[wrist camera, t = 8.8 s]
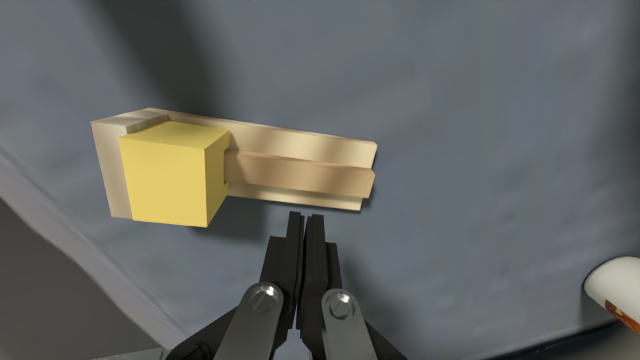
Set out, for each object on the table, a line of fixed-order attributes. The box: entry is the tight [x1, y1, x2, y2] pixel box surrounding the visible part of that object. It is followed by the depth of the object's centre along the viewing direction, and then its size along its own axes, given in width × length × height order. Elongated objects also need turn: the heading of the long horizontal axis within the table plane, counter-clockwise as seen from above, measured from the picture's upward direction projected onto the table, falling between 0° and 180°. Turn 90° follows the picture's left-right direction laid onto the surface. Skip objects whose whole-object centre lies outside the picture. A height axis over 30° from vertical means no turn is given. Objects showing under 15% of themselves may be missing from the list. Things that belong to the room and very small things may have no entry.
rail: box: [91, 108, 377, 219], centre depth 20 cm, size 20×7×6 cm, turn 80°
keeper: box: [118, 121, 229, 227], centre depth 18 cm, size 5×6×6 cm
